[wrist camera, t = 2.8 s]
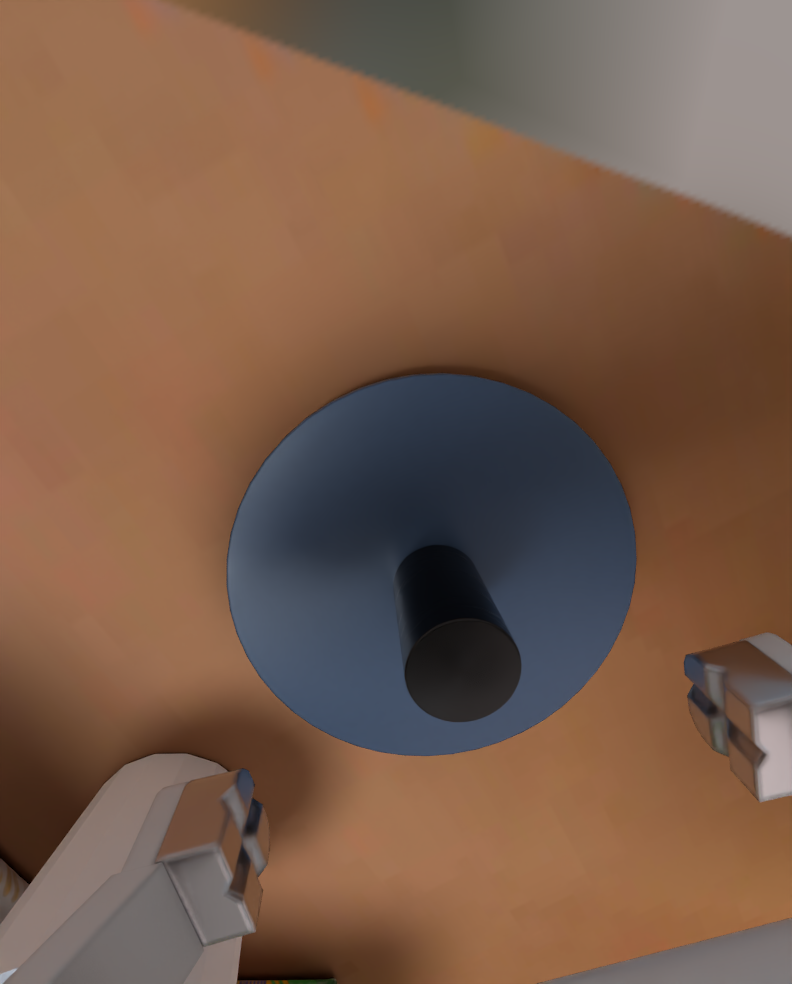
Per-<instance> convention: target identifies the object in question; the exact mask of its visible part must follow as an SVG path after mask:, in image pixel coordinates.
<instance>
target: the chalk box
mask: <svg viewBox="0 0 792 984" xmlns="http://www.w3.org/2000/svg"><path fill="white" fill-rule="evenodd" d="M237 984H337V981H336V979H335V978H331V979H324V980H323V979H317V980H260V981H252V980H244V981H237Z"/></svg>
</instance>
